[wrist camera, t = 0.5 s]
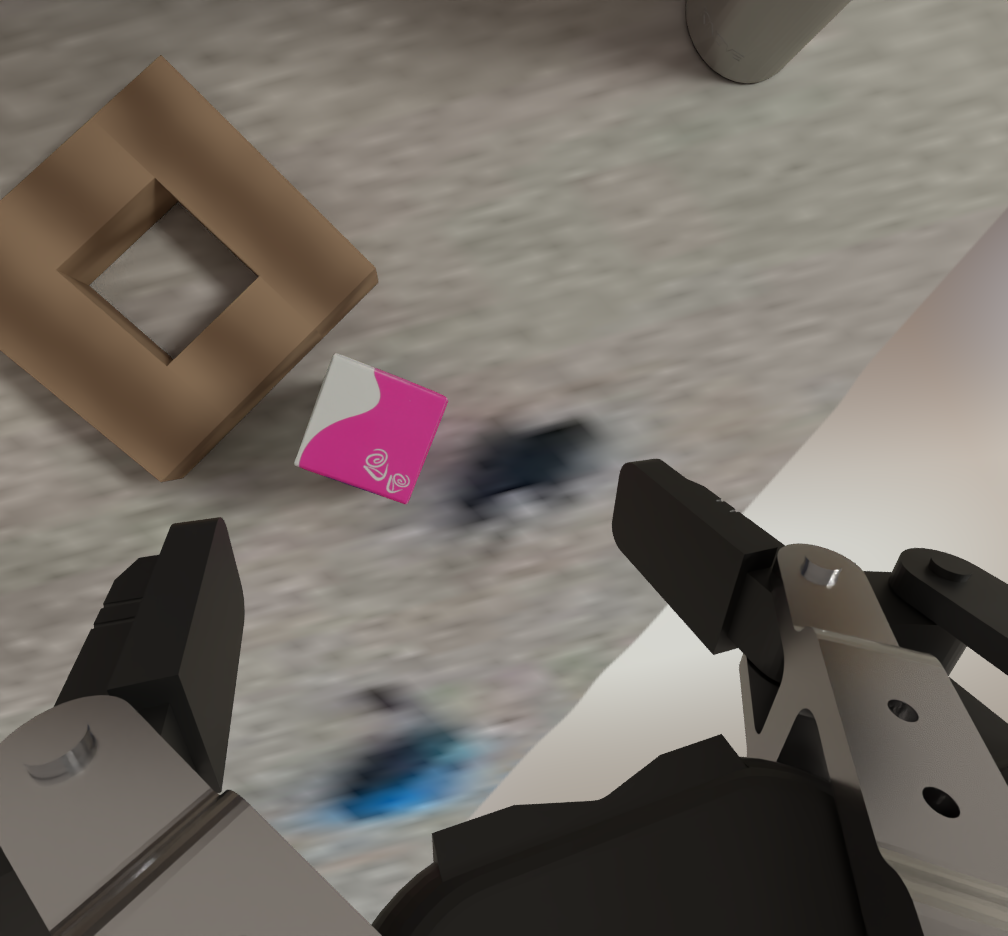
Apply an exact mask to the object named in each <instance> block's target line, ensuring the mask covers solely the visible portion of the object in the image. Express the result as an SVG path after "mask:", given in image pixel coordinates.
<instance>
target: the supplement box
mask: <svg viewBox="0 0 1008 936" xmlns="http://www.w3.org/2000/svg"><path fill="white" fill-rule="evenodd" d="M447 403H448V399H447V398H446V397H445V396H443V395H441V394H439V393H437V392H435V391H432V390H430V389H427V388H425V387H422V386H420V385H418V384H415V383H413V382H410V381H408V380H405V379H403V378H400V377H398V376H395V375H392V374H390V373H387V372H385V371H382V370H380V369H377V368H374V367H372V366H369V365H367V364H364V363H362V362H359V361H356V360H354V359H351V358H349V357H346V356H343V355H341V354H338V353H335V354H333V356H332V359H331V362H330V364H329V367H328V369H327V372H326V375H325V378H324V381H323V383H322V386H321V389H320V392H319V394H318V397H317V400H316V403H315V406H314V409H313V411H312V414H311V417H310V420H309V423H308V425H307V428H306V431H305V434H304V437H303V440H302V443H301V445H300V448H299V451H298V454H297V457H296V459H295V462H294V465H295V466H297V467H300V468H303V469H305V470H308V471H311V472H314V473H317V474H319V475H322V476H325V477H328V478H331V479H334V480H337V481H340V482H342V483H345V484H348V485H351V486H354V487H357V488H360V489H363V490H366V491H369V492H371V493H374V494H377V495H380V496H383V497H386V498H389V499H392V500H394V501H397V502H400V503H403V504H407V503H408V502H409V499H410V497H411V494H412V491H413V489H414V486H415V484H416V481H417V479H418V476H419V474H420V471H421V469H422V466H423V464H424V461H425V459H426V456H427V454H428V451H429V449H430V446H431V444H432V441H433V439H434V436H435V434H436V431H437V428H438V426H439V423H440V421H441V418H442V416H443V413H444V411H445V408H446V406H447Z"/></svg>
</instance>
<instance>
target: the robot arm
mask: <svg viewBox="0 0 1008 936" xmlns="http://www.w3.org/2000/svg"><path fill="white" fill-rule="evenodd" d="M850 1H851V0H687V3H686V18H687V24H688V29H689V33H690V36H691V38H692V41H693V43H694V46H695V48H696V49H697V51H698V52H699V54H700V56H701V57H702V59H703V60H704V61H705V62H706V63H707V64H708V65H709V66H710V67H711V68H712V69H713V70H714V71H716V72H717V73H719V74H720V75H722V76H723V77H725V78H728V79H730V80H733V81H736V82H742V83H756V82H760V81H763V80H766V79H769V78H770V77H772V76H773V75H775V74H776V73H778V72H779V71H780V70H781V69H782V68H783V67H784V66H785V65H786V64H787V63H788V62H789V61H790V60H791V59H792V58H793V57H794V56H795V55H796V54H797V53H798V52H799V51H800V50H801V49H802V48H803V47H804V46H805V45H806V44H808V43H809V42H810V41H811V40H812V39H813V38H814V37H815V36H816V35H817V34H818V33H819V32H820V31H821V30H822V29H823V28H824V27H825V26H826V25H827V24H828V23H829V22H830V21H831V20H832V19H833V18H834V17H835V16H836V15H837V14H838V13H839V12H840V11H841V10H842V9H843V8H844V7H845V6H846V5H847V4H848V3H849V2H850ZM612 532H613V536H614V540H615V542H616V544H617V546H618V548H619V549H620V550H621V552H622V553H623V554H624V555H625V556H626V557H627V558H628V559H629V561H630V562H631V563H632V564H633V565H634V566H635V567H636V568H637V570H638V571H639V572H640V573H641V574H642V575H643V576H644V577H645V579H646V580H647V581H648V582H649V583H650V584H651V585H652V586H653V588H654V589H655V590H656V591H657V592H658V593H659V594H660V595H661V597H662V598H663V599H664V600H665V601H666V602H667V603H668V604H669V605H670V607H671V608H672V609H673V610H674V611H675V612H676V613H677V614H678V616H679V617H680V618H681V619H682V620H683V621H684V622H685V623H686V625H687V626H688V627H689V628H690V629H691V630H692V631H693V632H694V634H695V635H696V636H697V637H698V638H699V639H700V640H701V641H702V643H703V644H704V645H705V646H706V647H707V648H708V649H709V650H710V652H711V653H712V654H713V655H715V654H718V653H722V652H725V651H729V650H732V649H736V648H739V649H740V650H741V651H742V652H743V656H742V659H741V661H740V665H739V672H740V682H741V692H742V702H743V713H744V722H745V733H746V743H747V757H739V756H738V755H737V753H736V752H735V751H734V750H733V748H732V747H731V746H730V744H729V743H728V742H727V740H726V739H725V738H724V736H723V735H722V734H720V735H717V736H714V737H712V738H709V739H706V740H703V741H700V742H697V743H694V744H691V745H688V746H685V747H683V748H679V749H676V750H674V751H671V752H668V753H665V754H662V755H660V756H658V757H657V758H656V759H655V760H653V761H652V762H651V763H649V764H648V765H647V766H646V767H644V768H643V769H642V770H640V771H639V772H638V773H636V774H635V775H634V776H632V777H631V778H630V779H628V780H627V781H626V782H625V783H623V784H622V785H621V786H619V787H618V788H617V789H615V790H614V791H613V792H612V793H611V794H609V795H608V796H606V797H604V798H602V799H600V800H595V801H584V802H565V803H547V804H529V805H513V806H510V807H508V808H505V809H502V810H499V811H496V812H493V813H490V814H487V815H484V816H481V817H478V818H475V819H472V820H469V821H466V822H464V823H461V824H458V825H455V826H452V827H449V828H446V829H443V830H440V831H437V832H434V833H432V842H433V861H434V863H432V864H431V865H429V866H428V867H427V868H425V869H424V870H423V871H421V872H420V873H418V874H417V875H416V876H415V877H414V878H413V879H412V880H411V881H409V882H408V883H407V884H406V885H405V886H404V887H403V888H402V889H401V890H400V891H399V892H398V893H397V894H396V895H395V896H394V897H393V898H392V900H391V901H390V902H389V903H388V904H387V905H386V906H385V908H384V909H383V910H382V911H381V912H380V913H379V915H378V916H377V918H376V919H375V920H374V922H373V923H372V925H371V924H370V923H369V922H368V921H367V920H366V919H365V918H364V917H363V916H361V915H360V914H359V913H358V912H357V911H356V910H355V909H354V908H353V907H352V906H351V905H350V904H349V903H348V902H347V901H346V900H345V899H344V898H343V897H342V896H341V895H340V894H339V893H338V892H337V891H336V890H335V889H334V888H333V887H332V886H331V885H330V884H329V883H328V882H327V881H326V880H325V879H324V878H323V877H322V876H321V875H320V874H319V873H318V872H317V871H316V870H315V869H314V868H313V867H312V866H311V865H310V864H309V863H308V862H307V861H306V860H305V859H304V858H303V857H302V856H301V855H300V854H299V853H298V852H297V851H296V850H295V849H294V848H293V847H292V846H291V845H290V844H289V843H288V842H287V841H286V840H285V839H284V838H283V837H282V836H281V835H280V834H279V833H278V832H277V831H276V830H275V829H274V828H273V827H272V826H271V825H270V824H269V823H268V822H267V821H266V820H265V819H264V818H263V817H262V816H261V815H260V814H259V813H258V812H257V811H256V810H255V809H254V808H253V807H252V806H251V805H250V804H249V803H248V802H247V801H246V800H245V799H243V798H242V797H241V796H240V795H238V794H237V793H235V792H234V791H231V790H226V791H225V792H224V793H223V794H222V795H219V794H217V793H220V792H221V791H222V784H223V776H224V769H225V761H226V754H227V746H228V739H229V731H230V724H231V716H232V709H233V701H234V694H235V686H236V679H237V671H238V664H239V656H240V649H241V641H242V634H243V626H244V616H245V610H244V597H243V590H242V585H241V581H240V577H239V574H238V570H237V566H236V562H235V558H234V554H233V550H232V546H231V542H230V539H229V535H228V531H227V527H226V524H225V522H224V520H223V519H222V518H221V517H218V518H211V519H204V520H196V521H189V522H182V523H174V524H172V525H171V527H170V529H169V532H168V534H167V537H166V539H165V542H164V544H163V547H162V550H161V552H160V555H155V556H148V557H142V558H138V559H137V560H136V561H135V562H134V563H133V564H132V565H131V566H130V567H129V568H127V569H126V570H125V571H124V572H123V573H122V574H121V575H120V576H119V577H118V578H116V579H115V580H114V583H113V585H112V587H111V589H110V591H109V593H108V595H107V597H106V599H105V601H104V603H103V604H104V608H102V609H101V610H100V612H99V614H98V616H97V618H96V620H95V622H94V629H91V630H90V632H89V635H88V637H87V639H86V641H85V643H84V645H83V647H82V649H81V651H80V653H79V655H78V657H77V660H76V662H75V664H74V666H73V668H72V670H71V672H70V674H69V676H68V678H67V680H66V682H65V684H64V687H63V689H62V691H61V693H60V695H59V697H58V699H57V701H56V703H55V705H54V707H53V708H51V709H49V710H47V711H45V712H43V713H41V714H39V715H37V716H35V717H34V718H32V719H31V720H29V721H28V722H26V723H24V724H23V725H21V726H20V727H19V728H18V729H16V730H15V731H14V732H12V733H11V734H10V735H9V736H8V737H6V738H5V739H4V740H3V741H2V742H1V743H0V936H1008V723H1006V722H1005V721H1004V720H1002V719H1001V718H1000V717H999V716H997V715H996V714H995V713H994V712H992V711H991V710H990V709H988V708H987V707H986V706H985V705H984V704H982V703H981V702H980V701H979V700H977V699H976V698H975V697H974V696H972V695H971V694H970V693H969V692H967V691H966V690H965V689H964V688H962V687H961V686H960V685H958V684H957V683H956V682H955V681H953V680H952V679H951V678H950V677H948V676H949V674H950V673H951V671H952V669H953V668H954V666H955V665H956V663H957V661H958V660H959V658H960V656H961V655H962V653H963V652H964V650H965V648H966V647H967V646H968V647H969V648H971V649H972V650H973V651H975V652H976V653H977V654H979V655H980V656H982V657H983V658H984V659H986V660H987V661H989V662H990V663H991V664H993V665H994V666H995V667H997V668H998V669H1000V670H1001V671H1002V672H1004V673H1005V674H1006V675H1008V584H1006V583H1005V582H1003V581H1001V580H1000V579H998V578H996V577H994V576H993V575H991V574H989V573H988V572H986V571H984V570H983V569H981V568H979V567H977V566H976V565H974V564H972V563H970V562H968V561H966V560H964V559H961V558H959V557H956V556H954V555H951V554H947V553H944V552H940V551H937V550H932V549H925V548H911V549H907V550H905V551H903V552H902V553H901V555H900V556H899V559H898V561H897V563H896V565H895V567H894V569H893V571H892V572H872V571H871V572H870V571H862V570H861V568H860V567H859V566H857V565H856V564H855V563H854V562H852V561H851V560H849V559H848V558H846V557H844V556H843V555H840V554H838V553H836V552H834V551H831V550H829V549H826V548H822V547H819V546H815V545H809V544H791V545H787V546H785V545H783V544H782V543H781V542H779V541H778V540H777V539H775V538H774V537H773V536H771V535H770V534H768V533H767V532H766V531H764V530H763V529H762V528H760V527H759V526H758V525H756V524H755V523H753V522H752V521H751V520H749V519H748V518H747V517H745V516H744V515H743V514H741V513H740V512H735V509H734V508H733V507H732V506H730V505H729V504H728V503H726V502H725V501H723V502H722V501H721V498H719V497H718V496H717V495H715V494H714V493H712V492H711V491H710V490H708V489H707V488H706V487H704V486H702V485H700V484H697V483H695V482H693V481H691V480H688V479H686V478H685V477H683V476H682V475H681V474H679V473H678V472H677V471H675V470H674V469H673V468H671V467H670V466H669V465H667V464H666V463H665V462H663V461H662V460H660V459H650V460H643V461H635V462H628V463H626V464H624V465H623V466H622V468H621V471H620V475H619V481H618V487H617V494H616V500H615V507H614V513H613V519H612Z"/></svg>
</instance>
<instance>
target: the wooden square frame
mask: <svg viewBox="0 0 1008 936" xmlns="http://www.w3.org/2000/svg"><path fill="white" fill-rule="evenodd" d="M177 202H179V203H180V204H182V205H183V206H184V207H185V208H186V209H187V210H188V211H189V212H190V213H191V214H192V215H193V216H194V217H195V218H196V219H197V220H199V221H200V222H201V223H202V224H203V225H204V226H205V227H206V228H207V229H208V230H209V231H210V232H211V233H212V234H213V235H215V236H216V237H217V238H218V239H219V240H220V241H221V242H222V243H223V244H224V245H225V246H226V247H227V248H228V249H229V250H230V251H232V252H233V253H234V254H235V255H236V256H237V257H238V258H239V259H240V260H241V261H242V262H243V263H244V264H245V265H246V266H247V267H249V268H250V269H251V270H252V271H253V272H254V273H255V274H256V275H257V276H258V278H257V279H256V280H255V281H254V282H253V283H252V284H251V285H250V286H249V287H248V288H247V289H246V290H245V291H244V292H243V293H242V294H241V295H240V296H239V297H238V298H237V299H235V300H234V301H233V302H232V303H231V304H230V305H229V306H228V307H227V308H226V309H225V310H224V311H223V312H222V313H221V314H220V315H219V316H218V317H217V318H216V319H215V320H214V321H213V322H212V323H211V324H210V325H209V326H208V327H207V328H206V329H205V330H204V331H203V332H202V333H201V334H200V335H199V336H198V337H196V338H195V339H194V340H193V341H192V342H191V343H190V344H189V345H188V346H187V347H186V348H185V349H184V350H183V351H182V352H181V353H180V354H179V355H178V356H177V357H176V358H175V359H174V360H173V359H172V358H171V357H170V356H169V355H168V354H167V353H165V352H164V351H163V350H162V349H161V348H160V347H159V346H157V345H156V344H155V343H154V342H153V341H152V340H151V339H149V338H148V337H147V336H146V335H145V334H144V333H143V332H141V331H140V330H139V329H138V328H137V327H136V326H135V325H133V324H132V323H131V322H130V321H129V320H128V319H127V318H125V317H124V316H123V315H122V314H121V313H120V312H119V311H117V310H116V309H115V308H114V307H113V306H112V305H111V304H109V303H108V302H107V301H106V300H105V299H104V298H103V297H101V296H100V295H99V294H98V293H97V292H96V291H95V290H93V289H92V288H91V287H90V286H89V285H90V284H91V283H92V282H93V281H94V280H95V279H96V278H97V277H98V276H99V275H101V274H102V273H103V272H104V271H105V270H106V269H107V268H108V267H109V266H110V265H111V264H112V263H113V262H114V261H115V260H116V259H118V258H119V257H120V256H121V255H122V254H123V253H124V252H125V251H126V250H127V249H128V248H129V247H130V246H131V245H132V244H133V243H134V242H136V241H137V240H138V239H139V238H140V237H141V236H142V235H143V234H144V233H145V232H146V231H147V230H148V229H149V228H150V227H151V226H153V225H154V224H155V223H156V222H157V221H158V220H159V219H160V218H161V217H162V216H163V215H164V214H165V213H166V212H167V211H168V210H170V209H171V208H172V207H173V206H174V205H175V204H176V203H177ZM377 283H378V277H377V272H376V268H375V267H374V266H373V265H372V264H371V263H370V262H369V261H368V260H367V259H366V258H365V257H364V256H363V255H362V254H361V253H360V252H359V251H358V250H357V249H356V248H355V247H354V246H353V245H352V244H351V243H350V242H349V241H348V240H347V239H346V238H345V237H344V236H343V235H342V234H341V233H340V232H339V231H338V230H337V229H336V228H335V227H334V226H333V225H332V224H331V223H330V222H329V221H328V220H327V219H326V218H325V217H324V216H323V215H322V214H321V213H320V212H319V211H318V210H317V209H316V208H315V207H314V206H313V205H312V204H311V203H310V202H309V201H308V200H307V199H306V198H305V197H304V196H303V195H302V194H301V193H300V192H299V191H298V190H297V189H296V188H295V187H294V186H293V185H292V184H291V183H290V182H289V181H287V180H286V179H285V178H284V177H283V176H282V175H281V174H280V173H279V172H278V171H277V170H276V169H275V168H274V167H273V166H272V165H271V164H270V163H269V162H268V161H267V160H266V159H265V158H264V157H263V156H262V155H261V154H260V153H259V152H258V151H257V150H256V149H255V148H254V147H253V146H252V145H251V144H250V143H249V142H248V141H247V140H246V139H245V138H244V137H243V136H242V135H241V134H240V133H239V132H238V131H237V130H236V129H235V128H234V127H233V126H232V125H231V124H230V123H229V122H228V121H227V120H226V119H225V118H224V117H223V116H222V115H221V114H220V113H219V112H218V111H217V110H216V109H215V108H214V107H213V106H212V105H211V104H210V103H209V102H208V101H207V100H206V99H205V98H204V97H203V96H202V95H201V94H200V93H199V92H198V91H197V90H196V89H195V88H194V87H193V86H192V85H191V84H190V83H189V82H188V81H187V80H186V79H185V78H184V77H183V76H182V75H181V74H180V73H179V72H178V71H177V70H176V69H175V68H174V67H173V66H172V65H171V64H170V63H169V62H168V61H167V60H166V59H165V58H164V57H163V56H162V55H160V56H159V57H158V58H157V59H156V60H155V61H154V62H152V63H151V64H150V65H149V66H148V67H147V68H146V69H145V70H144V71H143V72H141V73H140V74H139V75H138V76H137V77H136V78H135V79H134V80H133V81H132V82H130V83H129V84H128V85H127V86H126V87H125V88H124V89H123V90H122V91H120V92H119V93H118V94H117V95H116V96H115V97H114V98H113V99H112V100H111V101H109V102H108V103H107V104H106V105H105V106H104V107H103V108H102V109H101V110H100V111H98V112H97V113H96V114H95V115H94V116H93V117H92V118H91V119H90V120H89V121H87V122H86V123H85V124H84V125H83V126H82V127H81V128H80V129H79V130H78V131H76V132H75V133H74V134H73V135H72V136H71V137H70V138H69V139H68V140H67V141H65V142H64V143H63V144H62V145H61V146H60V147H59V148H58V149H57V150H56V151H54V152H53V153H52V154H51V155H50V156H49V157H48V158H47V159H46V160H45V161H43V162H42V163H41V164H40V165H39V166H38V167H37V168H36V169H35V170H33V171H32V172H31V173H30V174H29V175H28V176H27V177H26V178H25V179H24V180H22V181H21V182H20V183H19V184H18V185H17V186H16V187H15V188H14V189H13V190H11V191H10V192H9V193H8V194H7V195H6V196H5V197H4V198H3V199H2V200H0V350H1V351H2V352H3V353H4V354H6V355H7V356H8V357H9V358H10V359H12V360H13V361H14V362H15V363H17V364H18V365H19V366H20V367H21V368H23V369H24V370H25V371H26V372H27V373H29V374H30V375H31V376H32V377H34V378H35V379H36V380H37V381H38V382H40V383H41V384H42V385H43V386H45V387H46V388H47V389H48V390H49V391H51V392H52V393H53V394H54V395H55V396H57V397H58V398H59V399H60V400H62V401H63V402H64V403H65V404H66V405H68V406H69V407H70V408H71V409H73V410H74V411H75V412H76V413H77V414H79V415H80V416H81V417H82V418H83V419H85V420H86V421H87V422H88V423H90V424H91V425H92V426H93V427H94V428H96V429H97V430H98V431H99V432H100V433H102V434H103V435H104V436H105V437H107V438H108V439H109V440H110V441H111V442H113V443H114V444H115V445H116V446H118V447H119V448H120V449H121V450H122V451H124V452H125V453H126V454H127V455H128V456H130V457H131V458H132V459H133V460H135V461H136V462H137V463H138V464H139V465H141V466H142V467H143V468H144V469H146V470H147V471H148V472H149V473H150V474H152V475H153V476H154V477H155V478H156V479H158V480H159V481H160V482H164V481H170V480H175V479H181V478H184V477H185V476H186V475H187V474H188V473H189V472H190V471H191V470H192V469H193V468H194V467H195V466H196V465H197V464H198V463H199V462H200V461H201V460H202V459H203V458H204V457H205V456H206V455H207V454H208V453H209V452H210V451H211V450H212V449H213V448H214V447H215V446H216V445H217V444H218V443H219V442H220V441H221V440H222V439H223V438H224V437H225V436H226V435H227V434H228V433H229V432H230V431H231V430H232V429H233V428H234V427H235V426H236V425H237V424H238V423H239V422H240V421H241V420H242V419H243V418H244V417H245V416H246V415H247V414H248V413H249V411H250V410H251V409H252V408H253V407H254V406H255V405H256V404H257V403H258V402H259V401H260V400H261V399H262V398H263V397H264V396H265V395H266V394H267V393H268V392H269V391H270V390H271V389H272V388H273V387H274V386H275V385H276V384H277V383H278V382H279V381H280V380H281V379H282V378H283V377H284V376H285V375H286V374H287V373H288V372H289V371H290V370H291V369H292V368H293V367H294V366H295V365H296V364H297V363H298V362H299V361H300V360H301V359H302V358H303V357H304V356H305V355H306V354H307V353H308V352H309V351H310V350H311V349H312V348H313V347H314V346H315V345H316V344H317V343H318V342H319V341H320V340H321V339H322V338H323V337H324V336H325V335H326V334H327V333H328V332H329V331H330V330H331V329H332V328H333V327H334V326H335V325H336V324H337V323H338V322H339V321H340V320H341V319H342V318H343V317H344V316H345V315H346V314H347V313H348V312H349V311H350V310H351V309H352V308H353V307H354V306H355V305H356V304H357V303H358V302H359V301H360V300H361V299H362V298H363V297H364V296H365V295H366V294H367V293H368V292H369V291H370V290H371V289H372V288H373V287H374V286H375V285H376V284H377Z"/></svg>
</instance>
